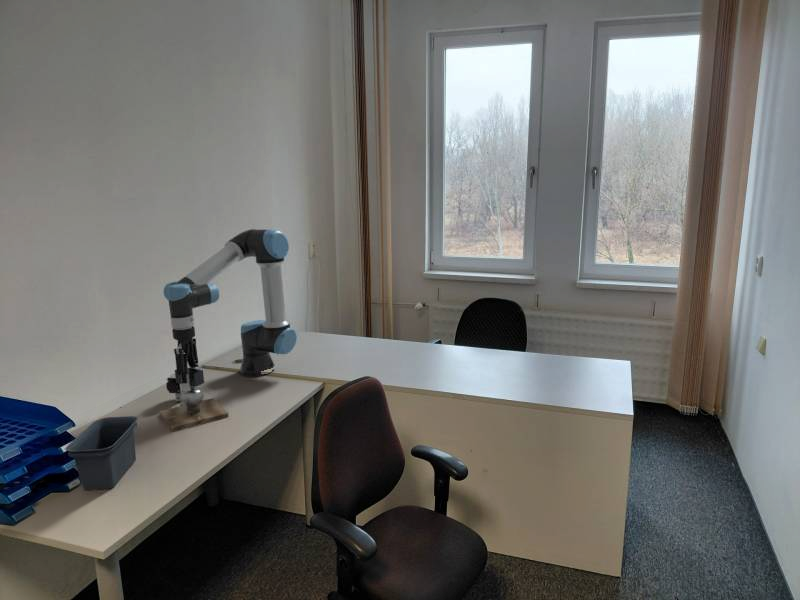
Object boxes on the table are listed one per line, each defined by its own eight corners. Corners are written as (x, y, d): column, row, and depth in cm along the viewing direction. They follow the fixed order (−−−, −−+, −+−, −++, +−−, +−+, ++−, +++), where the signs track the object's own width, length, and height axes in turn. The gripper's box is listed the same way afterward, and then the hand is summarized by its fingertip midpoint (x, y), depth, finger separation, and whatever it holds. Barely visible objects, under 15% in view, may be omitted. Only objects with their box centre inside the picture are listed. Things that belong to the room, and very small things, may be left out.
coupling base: (213, 401, 221) (212, 389, 220) (228, 416, 206) (227, 404, 205) (160, 414, 210) (158, 402, 208) (172, 431, 195) (170, 418, 194)
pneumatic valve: (195, 394, 228) (192, 366, 226) (179, 406, 217) (175, 377, 214) (183, 394, 229) (179, 366, 227) (166, 405, 218) (162, 376, 215)
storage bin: (117, 494, 157) (110, 448, 154) (61, 497, 157) (53, 450, 153) (147, 457, 178) (141, 415, 175) (98, 459, 177) (91, 417, 174)
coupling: (193, 395, 213) (189, 364, 211) (212, 399, 209) (209, 367, 206) (171, 405, 204) (167, 372, 202) (191, 409, 200) (187, 376, 197)
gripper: (182, 334, 191) (189, 397, 196) (203, 320, 209) (209, 378, 214) (160, 334, 191) (169, 397, 197) (184, 320, 210) (190, 378, 215)
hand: (190, 387), depth 206 cm, fingers closed on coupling, 5 cm apart
